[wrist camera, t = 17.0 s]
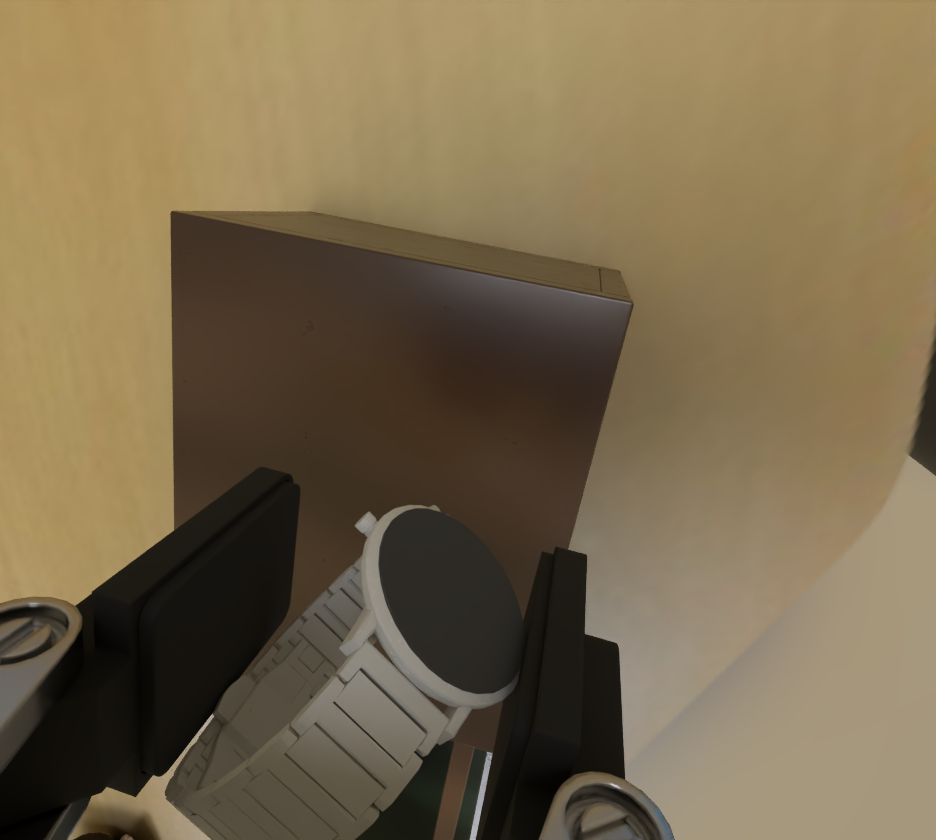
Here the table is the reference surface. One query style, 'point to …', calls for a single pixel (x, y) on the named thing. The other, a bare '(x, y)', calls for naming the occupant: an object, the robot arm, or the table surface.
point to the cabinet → (389, 385)
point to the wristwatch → (358, 688)
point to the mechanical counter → (101, 837)
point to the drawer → (435, 797)
